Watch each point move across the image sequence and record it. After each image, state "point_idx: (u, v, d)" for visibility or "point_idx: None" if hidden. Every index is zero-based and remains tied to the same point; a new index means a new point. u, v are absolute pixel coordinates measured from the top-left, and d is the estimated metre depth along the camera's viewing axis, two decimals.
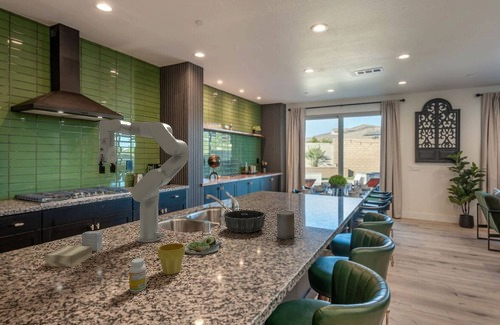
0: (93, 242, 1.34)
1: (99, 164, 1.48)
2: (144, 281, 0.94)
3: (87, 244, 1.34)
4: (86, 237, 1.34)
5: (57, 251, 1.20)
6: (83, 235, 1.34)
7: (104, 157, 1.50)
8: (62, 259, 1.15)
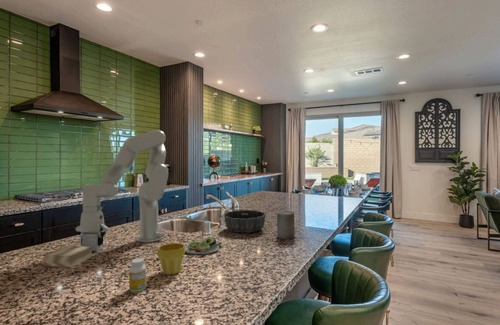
0: (93, 242, 1.34)
1: (103, 234, 1.35)
2: (144, 281, 0.94)
3: (87, 244, 1.34)
4: (86, 237, 1.34)
5: (57, 251, 1.20)
6: (83, 235, 1.34)
7: None
8: (61, 259, 1.15)
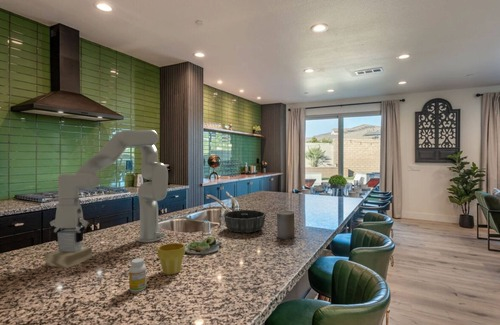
0: (70, 242, 1.19)
1: (83, 229, 1.20)
2: (144, 281, 0.94)
3: (64, 245, 1.19)
4: (62, 237, 1.19)
5: (58, 251, 1.21)
6: (59, 234, 1.19)
7: None
8: (59, 260, 1.15)
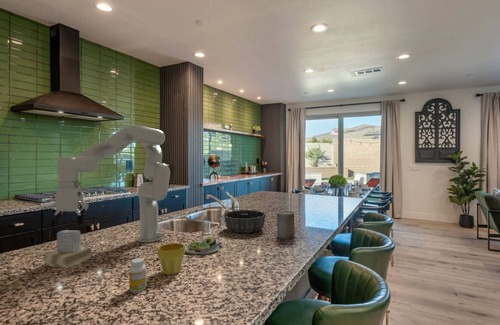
0: (69, 242, 1.18)
1: (83, 212, 1.20)
2: (144, 281, 0.94)
3: (63, 245, 1.19)
4: (61, 237, 1.19)
5: None
6: (58, 234, 1.19)
7: None
8: (58, 260, 1.14)
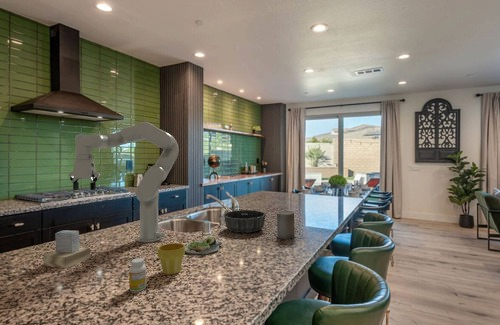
0: (68, 243, 1.18)
1: (96, 180, 1.47)
2: (144, 281, 0.94)
3: (61, 245, 1.18)
4: (60, 237, 1.18)
5: None
6: (56, 235, 1.18)
7: None
8: (57, 260, 1.14)
